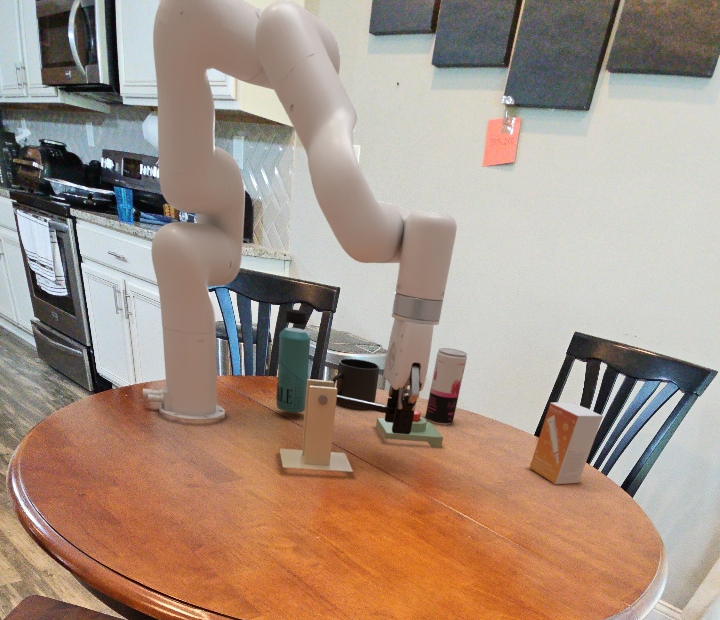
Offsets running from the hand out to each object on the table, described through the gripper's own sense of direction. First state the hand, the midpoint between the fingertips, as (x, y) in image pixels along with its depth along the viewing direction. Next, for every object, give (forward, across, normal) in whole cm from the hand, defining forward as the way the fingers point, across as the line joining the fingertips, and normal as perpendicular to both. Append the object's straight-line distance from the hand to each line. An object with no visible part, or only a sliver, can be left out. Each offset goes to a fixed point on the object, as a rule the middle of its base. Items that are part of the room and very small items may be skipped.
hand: (397, 426), depth 102 cm
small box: (+8, -3, +34) cm, 35 cm away
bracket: (+8, 0, -14) cm, 16 cm away
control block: (+8, -20, +8) cm, 23 cm away
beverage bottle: (+8, -29, -16) cm, 34 cm away
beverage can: (+8, -34, +19) cm, 40 cm away
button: (+4, -20, +8) cm, 22 cm away
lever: (-2, 0, -7) cm, 7 cm away
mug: (+8, -41, -1) cm, 42 cm away
